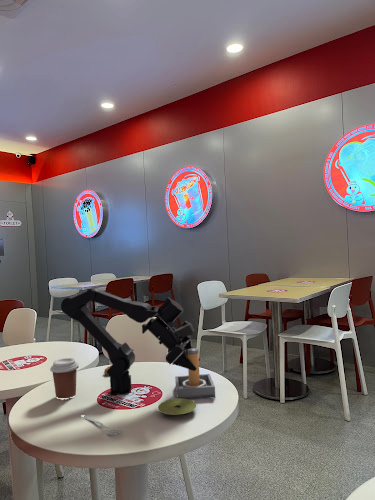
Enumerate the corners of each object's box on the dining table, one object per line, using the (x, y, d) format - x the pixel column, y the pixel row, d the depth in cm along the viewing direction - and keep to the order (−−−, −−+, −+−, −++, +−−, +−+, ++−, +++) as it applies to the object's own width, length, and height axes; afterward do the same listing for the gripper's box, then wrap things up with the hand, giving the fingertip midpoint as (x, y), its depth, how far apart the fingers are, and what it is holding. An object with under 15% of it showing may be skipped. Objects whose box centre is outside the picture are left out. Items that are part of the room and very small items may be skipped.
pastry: (110, 378, 145) (109, 368, 145) (100, 374, 150) (100, 364, 150) (130, 371, 152) (129, 361, 152) (120, 368, 156) (119, 358, 156)
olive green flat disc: (154, 407, 116) (154, 401, 116) (190, 401, 119) (190, 395, 119) (162, 424, 105) (162, 417, 105) (201, 417, 108) (201, 410, 108)
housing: (177, 400, 120) (177, 389, 120) (175, 386, 132) (175, 376, 132) (215, 397, 121) (214, 386, 121) (209, 383, 133) (209, 373, 133)
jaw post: (197, 391, 124) (195, 351, 124) (187, 389, 126) (185, 350, 126) (201, 387, 128) (200, 348, 127) (192, 386, 129) (190, 347, 129)
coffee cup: (53, 404, 122) (51, 367, 122) (50, 394, 130) (48, 359, 130) (82, 398, 126) (80, 362, 126) (77, 389, 134) (76, 355, 134)
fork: (80, 410, 117) (79, 405, 117) (125, 436, 100) (125, 429, 100) (70, 414, 115) (70, 408, 115) (115, 441, 98) (114, 434, 98)
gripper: (174, 321, 118) (211, 356, 116) (183, 310, 136) (216, 340, 135) (150, 346, 119) (187, 382, 118) (163, 332, 138) (195, 362, 136)
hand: (197, 365), depth 127 cm, fingers open, 9 cm apart
